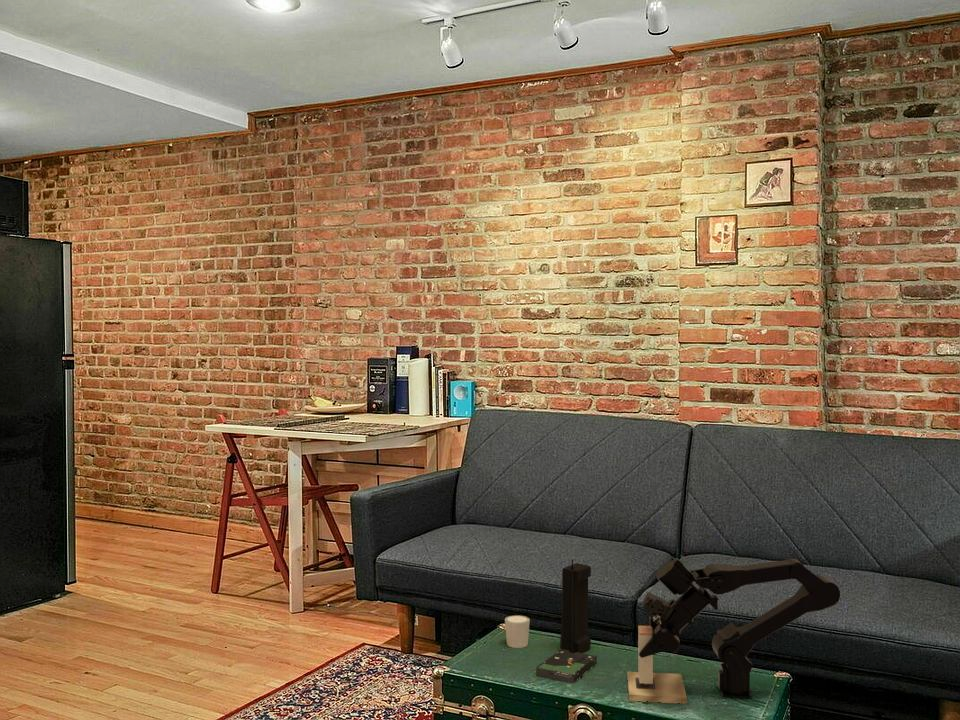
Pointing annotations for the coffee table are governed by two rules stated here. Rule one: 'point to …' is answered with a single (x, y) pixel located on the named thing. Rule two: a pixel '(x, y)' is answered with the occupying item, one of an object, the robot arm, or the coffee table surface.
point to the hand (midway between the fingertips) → (639, 651)
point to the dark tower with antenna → (575, 608)
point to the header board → (657, 688)
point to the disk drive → (566, 666)
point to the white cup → (517, 631)
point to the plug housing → (646, 662)
